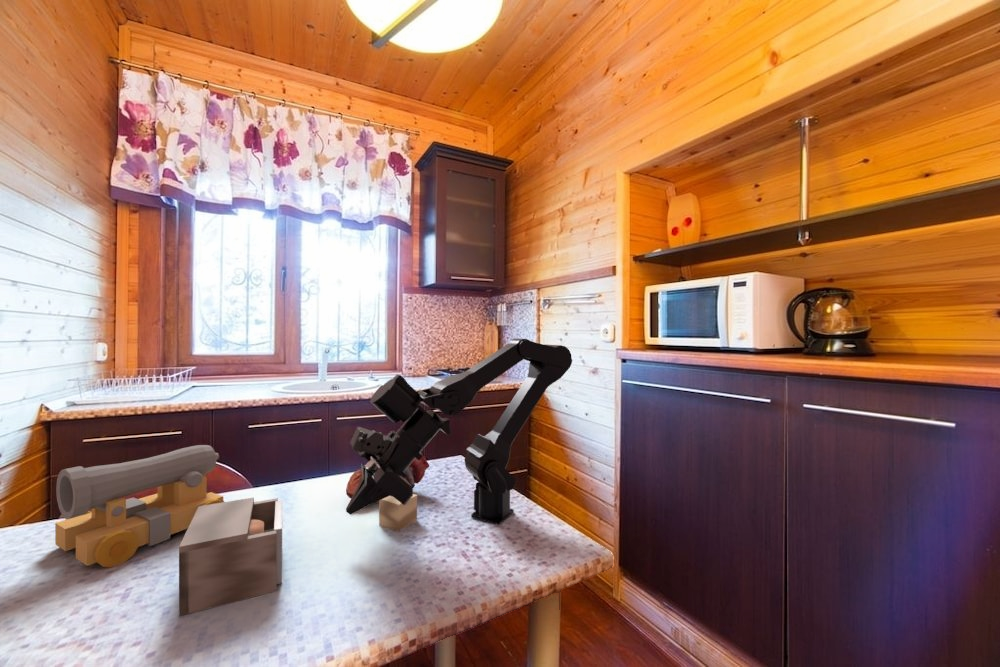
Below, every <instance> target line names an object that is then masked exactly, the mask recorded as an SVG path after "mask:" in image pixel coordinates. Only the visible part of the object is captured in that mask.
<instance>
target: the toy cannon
mask: <svg viewBox="0 0 1000 667" xmlns="http://www.w3.org/2000/svg"><path fill="white" fill-rule="evenodd" d="M218 459H220V455H219V453H218V452H216V451H215V449H214V447H212V446H211V445H210V444H209V445H208V444H197V445H191V446H188V447H187V446H186V447H183V448H178V449H175V450H173V451H172V450H171V451H169V452H166V453H162V454H158V455H155V456H151V457H147V458H141V459H136V460H130V461H125V462H121V463H119V462H118V463H112V464H111V463H110V464H104V465H95V466H89V467H83V466H82V465H81V466H80V465H79V466H75V467H74V466H73V467H69V468H64V469H61V470H60V472H58V475H57V479H56V486H55V488H56V489H55V490H56V491H55V492H56V501H57V505H58V510H59V512H60V514H61V516H62V517H63V518H64V520H61V521H58V522H55V527H54V529H55V532H54V533H55V543H54V544H55V545H56V546H57V547H58V548H60V549H61V550H63V551H64V552H67V551H70V550H73V549H75V559H76V560H78V561H79V562H81V563H82V564H84V565H85V566H87V567H88V566H91V565H93V564H96V563H97V564H98V565H100V566H101V567H103V568H112V567H116V566H118V565H120V564H123V563H125V562H127V561H128V560H129V559H130V558H132V557H133V556H134V554H135V553H136V551H137V550H138V548H139V547H142V546H144V545H147V546H148V547H151V546H155V545H156V544H159V543H161V542H164V541H167V540H169V539H171V535H174V534H176V533H179V532H182V531H185V530H187V529H188V527H189V525H190V523H191V521H192V519H193V517H194V515H195V513H196V511H197V509H198V507H199V506H204V505H210V504H217V503H223V502H225V501H224V495H221V494H218V493H215V492H212V491H210V492H207V490H208V488H207V487H208V486H207V482H208V481H207V476H206V475H207V474H208V473H211V472H212V471H214V470H215V467H216V465H217V461H218ZM155 488H157V489H156V490H157V492H156V493H155V494H151V495H147V496H144V497H140V498H136V497H131V498H127V499H126V498H125V497H128V496H131V495H135V494H138V493H141V492H145V491H147V490H150V489H155Z"/></svg>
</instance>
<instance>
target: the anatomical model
mask: <svg viewBox="0 0 1000 667" xmlns="http://www.w3.org/2000/svg"><path fill="white" fill-rule="evenodd" d="M422 452H423V451H421V452H420V454H421V455H422V458H421V459H420V460H418V459H417V458H415V460H414V461H413V462H412V463H411V464H410V465H409V467H408V468H407V469H406V470H405V471H404V472H405V473H406V475H407V476H406V477H405V478H404V479H406V480H407V481H408V482H409V484H410V485H411V486H412V487H413V489H414V488H415V486H416V484H419V483H420V482H421V481H422V480H423V478H424V477H425V473H426V470H427V469H428V468H429V467H430V463H429V462H428V461H427V459H426V458H425V456H424V455H423V453H422ZM361 478H362V468H361V469H358V470H355V471H354V472H353V474H351V476H350V477H349V480H348V482H347V484H346V488H345V492H346V496H347V497H348V498H349V499H351V498H352V496H353V494H354V492H355V491H356V489H357V487H358V485H359V483H360V481H361ZM375 504H379V501H377V502H375V503H373V505H375Z"/></svg>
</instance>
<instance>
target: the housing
mask: <svg viewBox="0 0 1000 667" xmlns="http://www.w3.org/2000/svg"><path fill="white" fill-rule="evenodd" d="M278 498H279V497H275V498H270V499H264V500H259V501H255V497H248V498H243V499H237V500H236V499H235V500H229V501H224V502H223V503H217V504H210V505H204V506H199V507H198V509H197V511H196V513H195V515H194V517H193V519H192V521H191V523H190V525H189V527H188V528H187V529H186V531H185V533H184V536H183V538H182V540H181V541H180V543H179V546H178V616H179V617H181V616H185V615H189V614H192V613H197V612H200V611H204V610H207V609H208V610H209V609H212V608H216V607H220V606H224V605H227V604H230V603H234V602H235V603H236V602H239V601H243V600H247V599H250V598H253V597H258V596H262V595H265V594H270V593H273V592H277V584H276V530H275V531H270V532H265V533H260V534H255V535H250V536H248V533H249V527H250V522H251V520H261V521H263V522H264V530H268V529H273V528H274V522H275V503H276V501H279V499H278Z"/></svg>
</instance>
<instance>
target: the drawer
mask: <svg viewBox="0 0 1000 667" xmlns="http://www.w3.org/2000/svg"><path fill="white" fill-rule="evenodd" d="M275 530H276V585H279V584H282V583H283V500H282V499H281V500H278V501H276V503H275V522H274V528H273V529H268V530H264V533H265V532H270V531H275Z"/></svg>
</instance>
